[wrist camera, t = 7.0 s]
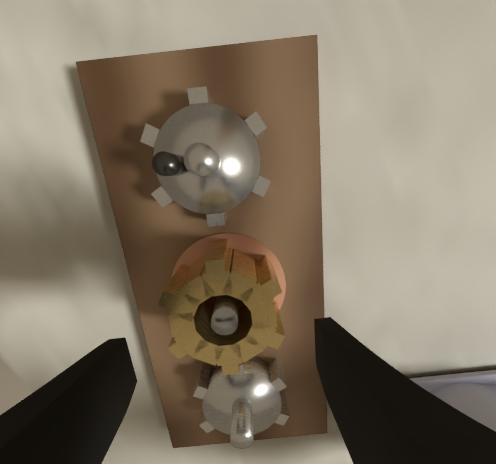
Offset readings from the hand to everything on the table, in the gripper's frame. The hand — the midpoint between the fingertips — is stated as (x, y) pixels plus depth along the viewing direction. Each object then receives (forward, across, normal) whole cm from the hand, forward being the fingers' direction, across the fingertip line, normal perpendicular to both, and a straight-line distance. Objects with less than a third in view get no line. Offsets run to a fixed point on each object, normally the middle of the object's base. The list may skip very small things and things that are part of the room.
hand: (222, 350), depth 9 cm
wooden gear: (+5, 0, 0) cm, 5 cm away
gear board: (+6, 0, 0) cm, 6 cm away
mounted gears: (+5, 0, 0) cm, 5 cm away
